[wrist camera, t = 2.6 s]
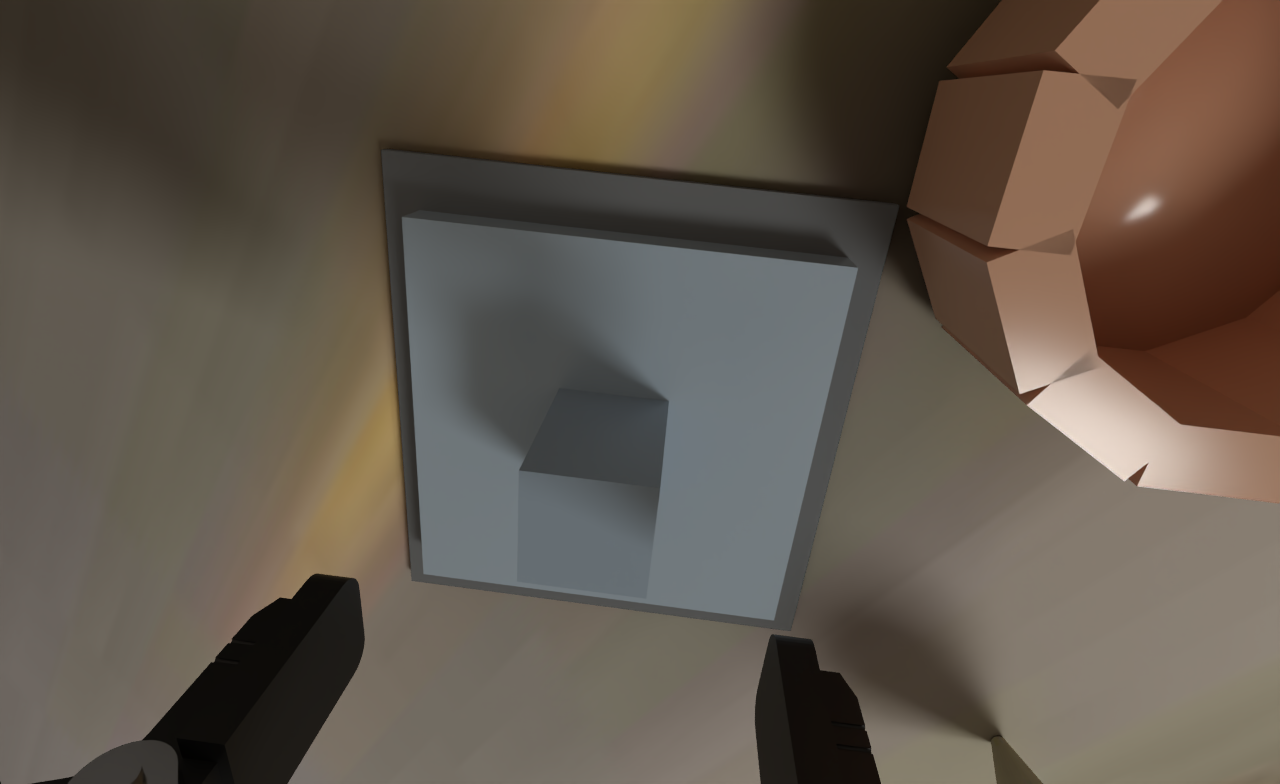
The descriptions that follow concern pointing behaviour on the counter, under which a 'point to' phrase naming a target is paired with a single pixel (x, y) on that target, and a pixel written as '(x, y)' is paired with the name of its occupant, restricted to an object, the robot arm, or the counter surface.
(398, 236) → the mat
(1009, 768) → the ice cream cone
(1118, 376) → the bowl
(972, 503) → the counter surface
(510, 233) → the lid
